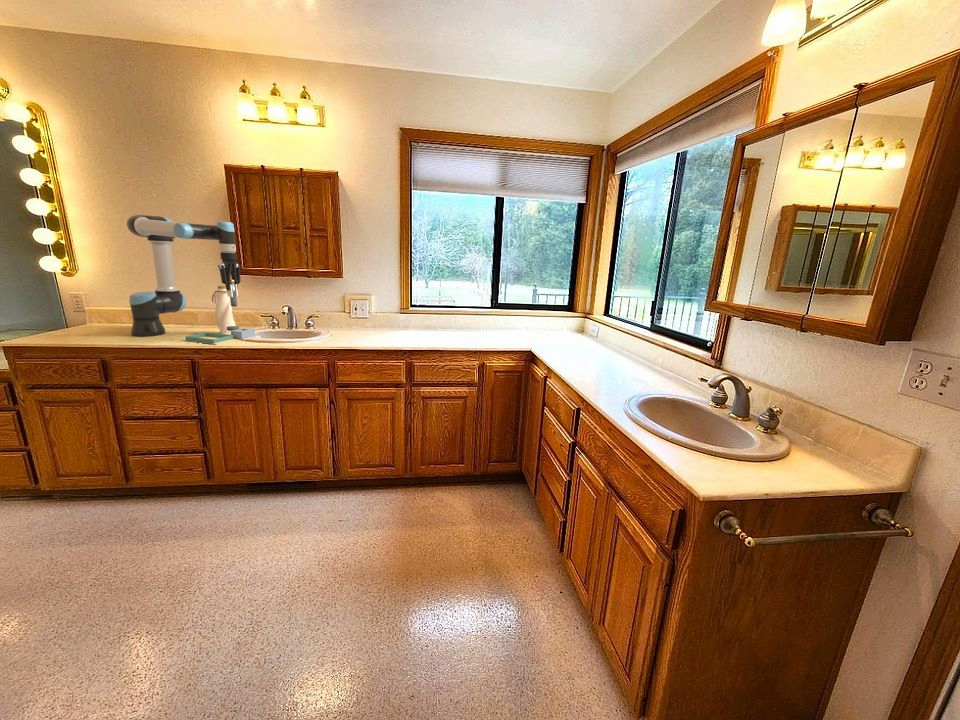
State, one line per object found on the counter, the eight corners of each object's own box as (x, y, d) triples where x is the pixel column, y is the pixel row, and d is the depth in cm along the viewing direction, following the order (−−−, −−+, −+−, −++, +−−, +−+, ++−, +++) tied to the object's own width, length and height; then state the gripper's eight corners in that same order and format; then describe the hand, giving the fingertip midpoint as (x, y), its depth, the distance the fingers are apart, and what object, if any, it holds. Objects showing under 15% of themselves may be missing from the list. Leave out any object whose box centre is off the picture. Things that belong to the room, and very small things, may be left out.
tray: (185, 342, 217) (185, 336, 216) (206, 337, 229) (205, 332, 228) (214, 345, 213) (213, 339, 212) (233, 340, 226) (233, 335, 225)
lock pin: (229, 306, 224) (226, 279, 220) (233, 305, 226) (231, 279, 223) (234, 306, 223) (231, 280, 219) (238, 306, 226) (235, 279, 222)
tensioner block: (221, 338, 228) (220, 327, 227) (235, 335, 238) (234, 325, 236) (243, 340, 225) (241, 329, 224) (256, 337, 235) (255, 327, 233)
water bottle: (217, 336, 234) (211, 287, 226) (215, 333, 240) (209, 285, 233) (238, 334, 240) (232, 286, 233) (235, 331, 247) (230, 285, 239)
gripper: (222, 252, 209) (227, 298, 215) (245, 252, 224) (249, 295, 230) (209, 251, 210) (215, 297, 216) (233, 251, 225) (238, 294, 232)
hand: (232, 296), depth 223 cm, fingers closed on lock pin, 3 cm apart
